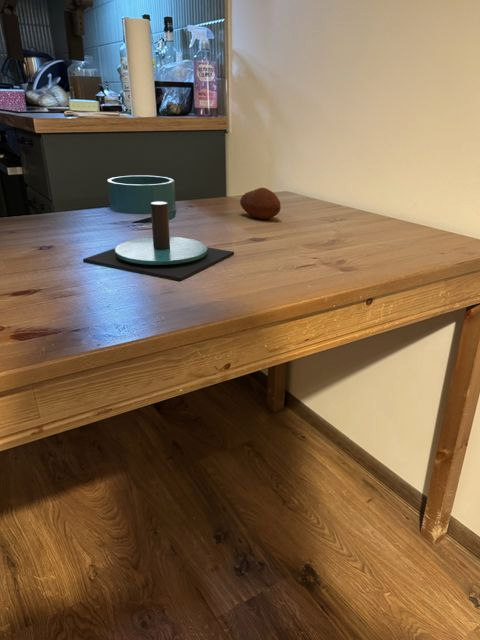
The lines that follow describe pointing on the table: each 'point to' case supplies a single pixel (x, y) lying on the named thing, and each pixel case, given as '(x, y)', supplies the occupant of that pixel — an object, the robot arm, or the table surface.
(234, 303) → the table surface
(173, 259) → the tin lid
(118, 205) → the green round tin
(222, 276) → the table surface
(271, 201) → the potato
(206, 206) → the table surface
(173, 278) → the placemat
